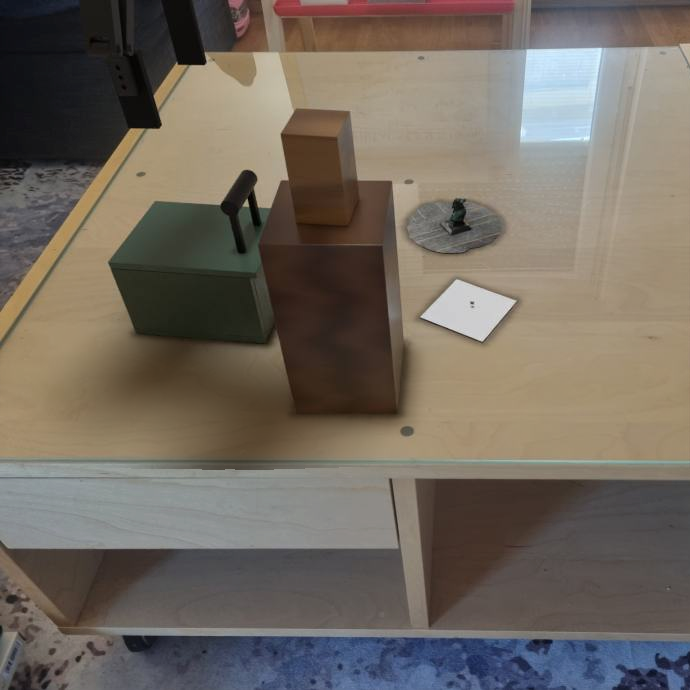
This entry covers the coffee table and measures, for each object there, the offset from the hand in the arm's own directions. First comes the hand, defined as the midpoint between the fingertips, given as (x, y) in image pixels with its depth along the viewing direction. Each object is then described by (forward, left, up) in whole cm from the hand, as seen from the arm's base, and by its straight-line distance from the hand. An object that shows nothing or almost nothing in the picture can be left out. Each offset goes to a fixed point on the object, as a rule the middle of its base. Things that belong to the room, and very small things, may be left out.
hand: (170, 93), depth 70 cm
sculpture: (+30, -3, -25) cm, 39 cm away
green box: (-1, -1, -24) cm, 24 cm away
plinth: (+6, -20, -24) cm, 32 cm away
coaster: (+22, -18, -24) cm, 37 cm away
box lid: (-1, -1, -16) cm, 16 cm away
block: (+6, -20, -4) cm, 21 cm away
